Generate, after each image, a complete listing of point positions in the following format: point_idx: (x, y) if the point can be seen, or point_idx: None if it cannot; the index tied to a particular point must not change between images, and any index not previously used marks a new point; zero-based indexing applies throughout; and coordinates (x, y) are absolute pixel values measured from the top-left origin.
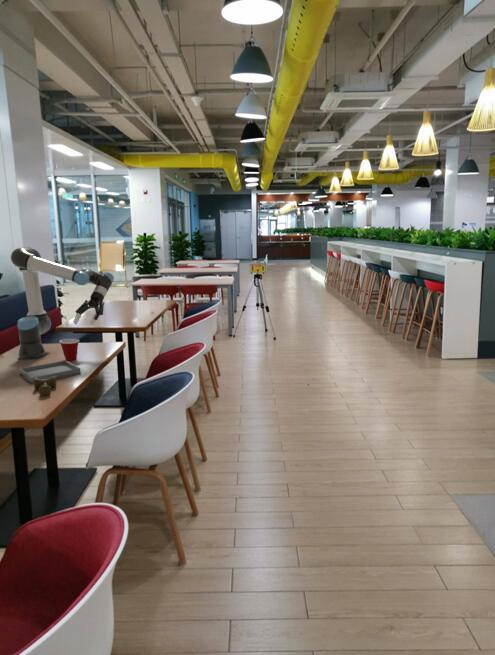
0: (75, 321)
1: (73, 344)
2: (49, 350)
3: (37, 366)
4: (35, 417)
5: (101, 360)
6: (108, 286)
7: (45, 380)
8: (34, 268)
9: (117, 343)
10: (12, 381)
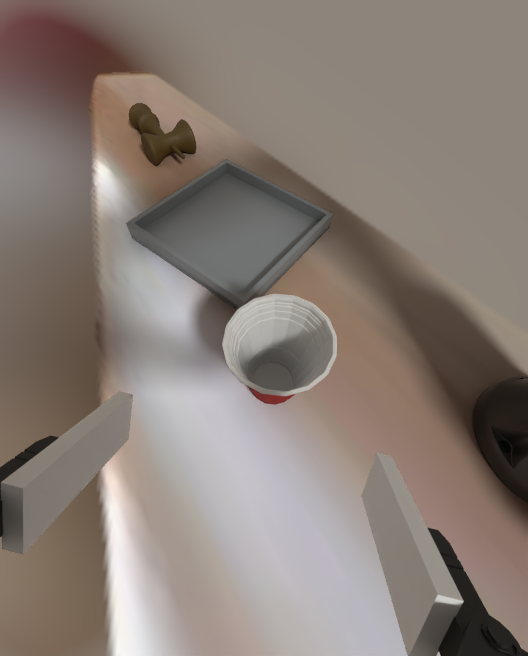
0: (376, 481)
1: (237, 325)
2: None
3: (300, 241)
4: (109, 77)
5: None
6: None
7: (164, 134)
8: None
9: None
10: (294, 185)
